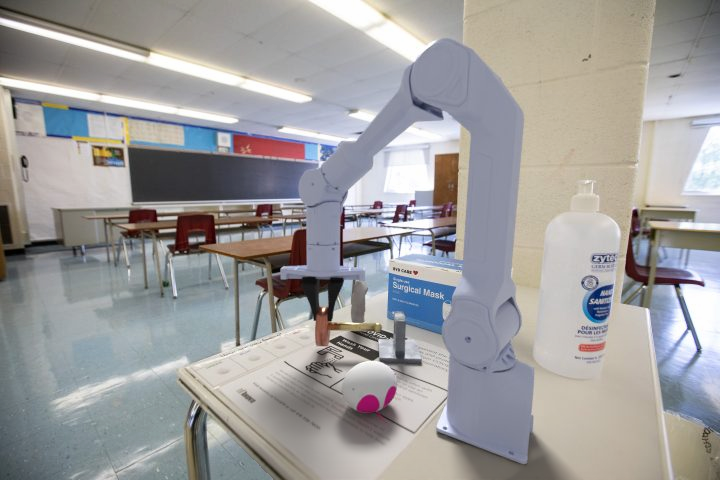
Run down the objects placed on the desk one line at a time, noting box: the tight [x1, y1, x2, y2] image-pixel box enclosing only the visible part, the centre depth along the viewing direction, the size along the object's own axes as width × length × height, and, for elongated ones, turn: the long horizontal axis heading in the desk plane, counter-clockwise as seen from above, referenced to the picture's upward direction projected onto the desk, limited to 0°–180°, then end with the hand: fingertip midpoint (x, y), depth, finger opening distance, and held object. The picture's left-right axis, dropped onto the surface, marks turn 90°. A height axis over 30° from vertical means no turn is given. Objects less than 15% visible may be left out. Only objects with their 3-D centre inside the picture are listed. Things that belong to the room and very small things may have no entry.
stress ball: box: [341, 360, 398, 424], centre depth 40 cm, size 8×8×7 cm
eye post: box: [377, 310, 423, 364], centre depth 54 cm, size 7×7×7 cm
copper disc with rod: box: [314, 305, 383, 347], centre depth 54 cm, size 11×7×7 cm, turn 88°
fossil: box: [350, 280, 369, 323], centre depth 66 cm, size 6×4×10 cm, turn 168°
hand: (323, 319), depth 54 cm, fingers closed on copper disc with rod, 2 cm apart
